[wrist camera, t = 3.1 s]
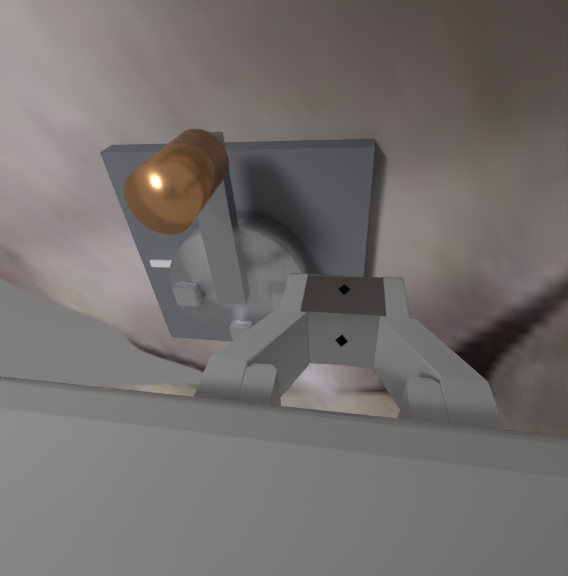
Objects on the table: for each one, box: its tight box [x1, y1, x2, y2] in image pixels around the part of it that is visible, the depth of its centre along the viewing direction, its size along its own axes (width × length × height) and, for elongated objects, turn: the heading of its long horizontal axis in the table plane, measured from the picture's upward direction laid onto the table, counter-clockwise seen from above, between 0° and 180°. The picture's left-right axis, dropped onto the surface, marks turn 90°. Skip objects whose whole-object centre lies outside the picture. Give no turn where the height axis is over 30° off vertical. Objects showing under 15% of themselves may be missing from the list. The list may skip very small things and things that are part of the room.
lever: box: [124, 129, 310, 341], centre depth 22 cm, size 16×10×9 cm, turn 4°
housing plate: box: [100, 139, 375, 341], centre depth 29 cm, size 18×18×2 cm
